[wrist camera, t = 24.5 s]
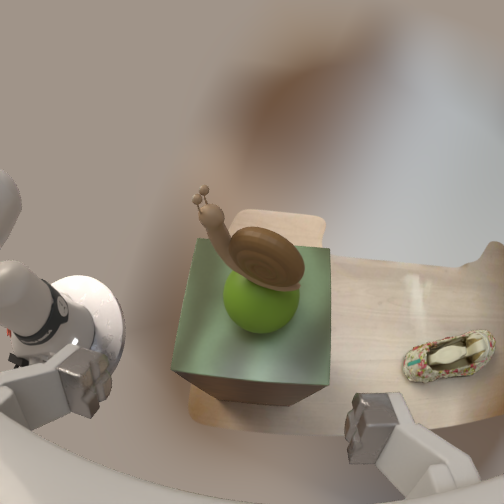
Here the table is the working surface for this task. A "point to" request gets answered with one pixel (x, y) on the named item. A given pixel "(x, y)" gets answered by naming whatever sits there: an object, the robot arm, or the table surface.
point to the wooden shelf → (254, 337)
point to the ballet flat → (450, 356)
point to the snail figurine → (254, 271)
